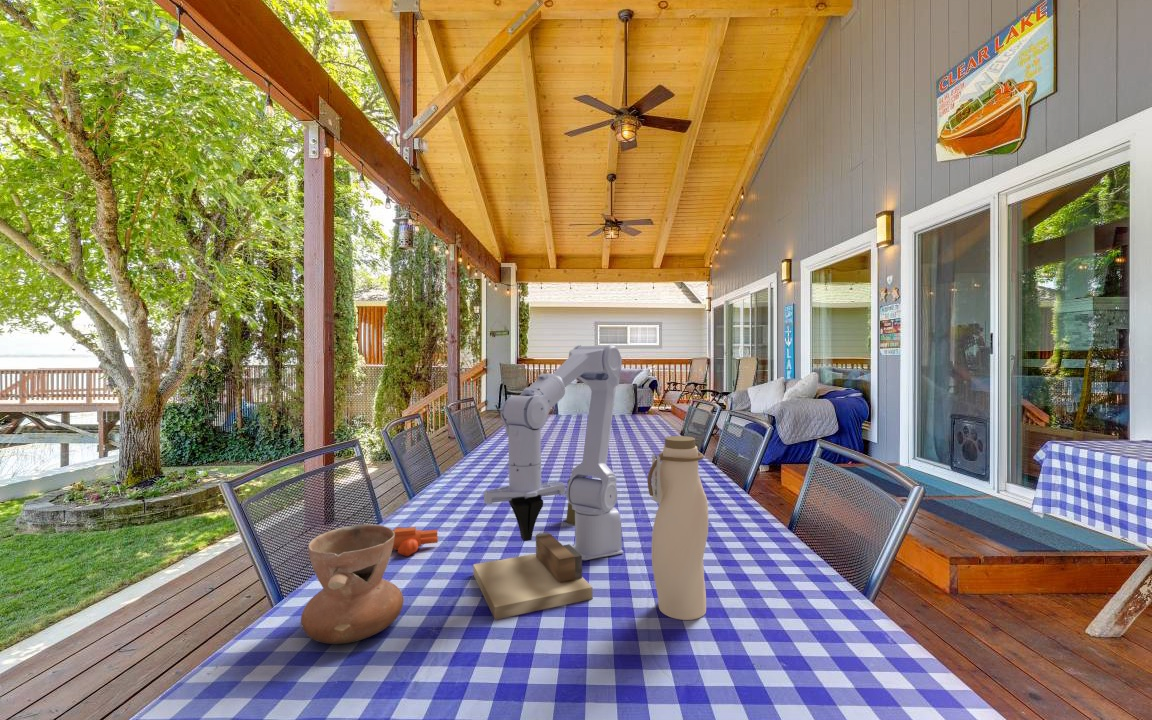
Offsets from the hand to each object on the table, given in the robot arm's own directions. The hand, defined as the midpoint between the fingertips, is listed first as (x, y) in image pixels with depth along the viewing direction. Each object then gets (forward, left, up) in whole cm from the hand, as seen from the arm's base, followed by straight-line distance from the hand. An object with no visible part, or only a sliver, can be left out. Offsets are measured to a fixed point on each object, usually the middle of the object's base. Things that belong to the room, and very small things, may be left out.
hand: (526, 538), depth 90 cm
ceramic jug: (+28, +1, -10) cm, 30 cm away
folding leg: (-6, -3, -7) cm, 10 cm away
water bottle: (-21, +17, -10) cm, 28 cm away
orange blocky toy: (+18, -28, -10) cm, 35 cm away
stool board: (-1, -1, -9) cm, 9 cm away
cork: (-23, -31, -10) cm, 40 cm away
